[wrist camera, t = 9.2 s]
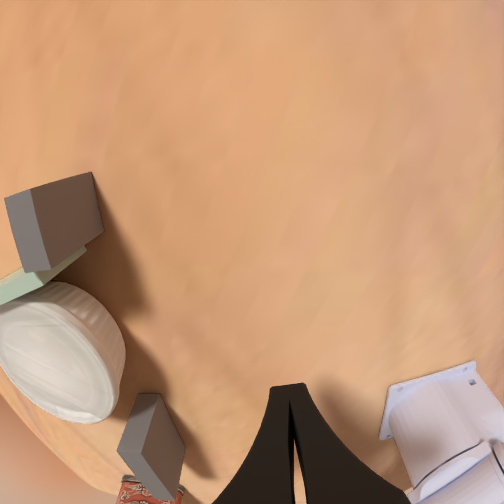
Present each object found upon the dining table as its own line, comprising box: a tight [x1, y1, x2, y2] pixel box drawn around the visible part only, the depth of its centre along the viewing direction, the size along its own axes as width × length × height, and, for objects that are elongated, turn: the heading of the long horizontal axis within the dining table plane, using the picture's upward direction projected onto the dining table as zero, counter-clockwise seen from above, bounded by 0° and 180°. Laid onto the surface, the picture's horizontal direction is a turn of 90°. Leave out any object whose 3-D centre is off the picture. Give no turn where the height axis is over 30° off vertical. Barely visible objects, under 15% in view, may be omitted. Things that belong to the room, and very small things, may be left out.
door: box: [0, 245, 87, 305], centre depth 17 cm, size 2×13×6 cm, turn 110°
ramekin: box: [0, 281, 126, 424], centre depth 20 cm, size 11×11×5 cm
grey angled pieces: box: [4, 172, 186, 501], centre depth 19 cm, size 2×26×6 cm, turn 8°
